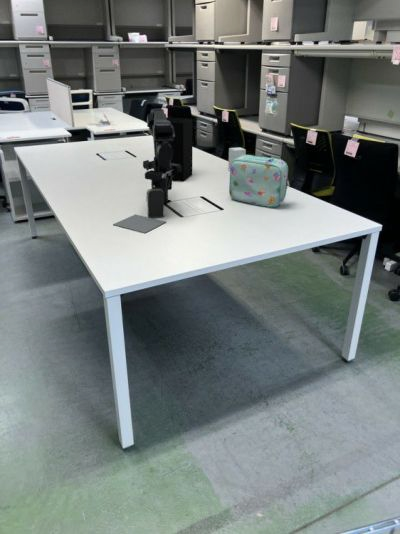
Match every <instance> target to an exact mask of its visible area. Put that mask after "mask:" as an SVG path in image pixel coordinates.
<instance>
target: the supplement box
mask: <svg viewBox="0 0 400 534" xmlns="http://www.w3.org/2000/svg"><path fill="white" fill-rule="evenodd" d="M246 150H247V149H245V148H243V147H239V146H238V147H229V148H228V167H227V168H228V169H230V167H231V162H232V161H233V160H235V159H237V158H239V157H240V156H242V155H247V154H246V153H247V151H246ZM228 169H227V170H228Z"/></svg>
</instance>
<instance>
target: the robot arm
mask: <svg viewBox="0 0 400 534" xmlns="http://www.w3.org/2000/svg"><path fill="white" fill-rule="evenodd" d="M166 117H167V113H165V110H164V109H163V108H153V109H151V112H149V114H147V117H146V126H147V127H148V132H149V134H150V135H151V136H152V140H153V151H154V153H153V154H154V157H153V160H151V161H150V160H149V159H146V160H143V161H142V168H143V169H145V170H146V171H145V172H144V180H149V181H150V185H151V186H150V187H151V188H150V189H161V190H163V192H164V205H167V204H169V203H171V202H172V201H171V199H169V191H171V190H172V189H173V181H172V178H173V176H174V174H172V173H171V171H173V170H176V171H177V172H181V171H182V166H181V165H180V164H174V163H171V160H172V159H173V157H172V156H173V153H174V151H173V149H172V147H171V145H170V141H174V139H175V133H174V128H173V126H172V125H171V123H170V121H168V120H167V118H168V117H167V118H166ZM171 137H172V139H171Z"/></svg>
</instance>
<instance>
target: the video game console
mask: <svg viewBox="0 0 400 534" xmlns="http://www.w3.org/2000/svg"><path fill="white" fill-rule="evenodd" d="M166 118H167V120H168V121H170V123H171V125H172V126H173V128H174V133H175V139H174V141H170V145H171V147H172V149H173V151H174V153H173V156H172V157H173V159H172V160H171V163H174V164H180V165H181V166H182V171H181V172H177V171H176V170H173V171H171V173H172V174H174V176H173V178H172V180H173V181H172V182H185V181H186V180H187V179H188V178H190V177H192V176H193V135H194V134H193V120H194V119H193V118H182V117H181V118H180V117H167V116H166ZM171 139H172V137H171Z"/></svg>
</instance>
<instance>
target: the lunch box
mask: <svg viewBox="0 0 400 534" xmlns="http://www.w3.org/2000/svg"><path fill="white" fill-rule="evenodd" d="M288 175H289V166H288V164H287V162H286V161H284V160H283V159H280V158H275V157H263V156H258V155H257V156H256V155H252V154H246V155H242V156H240V157H239V158H237V159H235V160H233V161H232V162H231V167H230V170H229V182H228V183H229V186H228V190H229V191H228V192H229V196H230V198H231V199H232V200H234V201H237V202H243V203H248V204H251V205H253V204H254V205H253V206H263V207H266V206H267V208H276V207H279V206H280V204H281V203H283V202H284V200H285V199H286V195H287V191H288V190H287V189H288V187H290V182H289V178H288Z"/></svg>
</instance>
